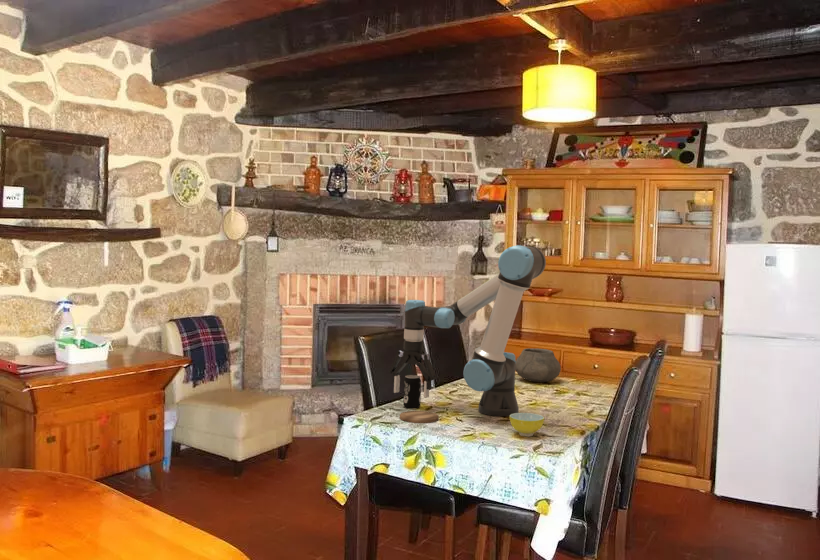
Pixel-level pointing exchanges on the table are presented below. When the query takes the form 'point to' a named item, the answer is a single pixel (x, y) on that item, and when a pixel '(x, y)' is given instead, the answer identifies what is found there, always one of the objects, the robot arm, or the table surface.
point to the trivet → (419, 417)
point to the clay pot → (537, 365)
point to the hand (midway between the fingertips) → (411, 395)
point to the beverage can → (412, 391)
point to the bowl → (526, 423)
